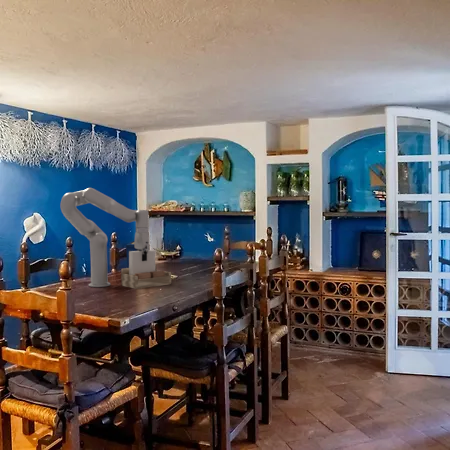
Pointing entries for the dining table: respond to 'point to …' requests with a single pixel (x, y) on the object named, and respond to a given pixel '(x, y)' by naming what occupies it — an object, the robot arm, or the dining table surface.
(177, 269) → the dining table surface
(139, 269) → the tall sheet
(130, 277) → the rack
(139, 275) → the offcut
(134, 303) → the dining table surface
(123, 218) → the robot arm
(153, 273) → the offcut
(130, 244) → the book
